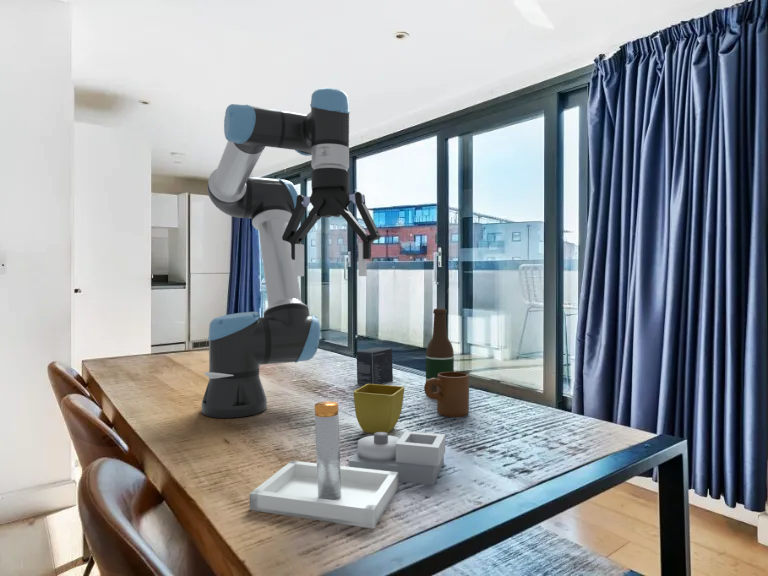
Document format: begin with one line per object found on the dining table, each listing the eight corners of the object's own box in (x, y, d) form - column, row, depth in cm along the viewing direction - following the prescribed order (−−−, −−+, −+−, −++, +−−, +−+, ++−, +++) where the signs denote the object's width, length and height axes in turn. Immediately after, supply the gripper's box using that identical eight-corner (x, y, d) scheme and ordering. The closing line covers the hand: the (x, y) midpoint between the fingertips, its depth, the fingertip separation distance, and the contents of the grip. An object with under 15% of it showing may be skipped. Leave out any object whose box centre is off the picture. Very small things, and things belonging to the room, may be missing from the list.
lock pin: (314, 499, 72) (310, 406, 72) (323, 489, 75) (319, 401, 75) (336, 501, 71) (333, 407, 71) (344, 491, 74) (341, 401, 74)
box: (376, 379, 161) (376, 346, 160) (393, 381, 157) (393, 348, 157) (355, 385, 152) (355, 350, 152) (373, 387, 148) (373, 352, 148)
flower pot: (405, 427, 109) (405, 386, 109) (392, 439, 101) (392, 394, 100) (367, 423, 112) (367, 383, 112) (352, 435, 103) (352, 391, 103)
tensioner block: (348, 475, 82) (348, 441, 82) (367, 455, 92) (367, 424, 92) (436, 485, 78) (436, 449, 78) (446, 463, 88) (446, 430, 88)
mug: (434, 422, 112) (434, 380, 112) (415, 414, 119) (415, 375, 119) (475, 415, 119) (475, 375, 118) (455, 407, 125) (455, 370, 125)
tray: (249, 511, 70) (249, 493, 70) (291, 475, 82) (291, 460, 82) (373, 529, 65) (373, 509, 65) (398, 488, 77) (398, 472, 77)
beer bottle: (423, 392, 141) (423, 307, 141) (450, 392, 142) (450, 307, 142) (428, 399, 134) (428, 309, 133) (456, 398, 134) (457, 309, 134)
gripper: (265, 170, 100) (265, 276, 101) (384, 161, 93) (384, 276, 94) (283, 177, 107) (283, 276, 108) (395, 170, 100) (395, 276, 101)
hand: (330, 276), depth 101 cm, fingers open, 13 cm apart
